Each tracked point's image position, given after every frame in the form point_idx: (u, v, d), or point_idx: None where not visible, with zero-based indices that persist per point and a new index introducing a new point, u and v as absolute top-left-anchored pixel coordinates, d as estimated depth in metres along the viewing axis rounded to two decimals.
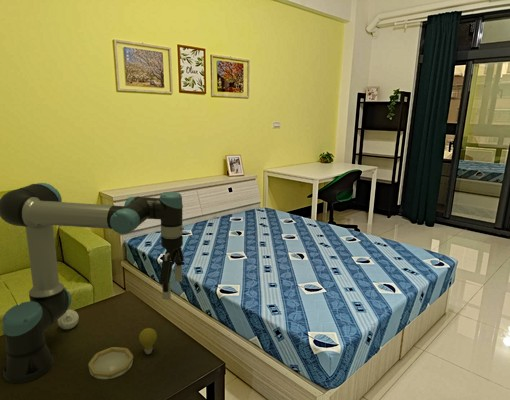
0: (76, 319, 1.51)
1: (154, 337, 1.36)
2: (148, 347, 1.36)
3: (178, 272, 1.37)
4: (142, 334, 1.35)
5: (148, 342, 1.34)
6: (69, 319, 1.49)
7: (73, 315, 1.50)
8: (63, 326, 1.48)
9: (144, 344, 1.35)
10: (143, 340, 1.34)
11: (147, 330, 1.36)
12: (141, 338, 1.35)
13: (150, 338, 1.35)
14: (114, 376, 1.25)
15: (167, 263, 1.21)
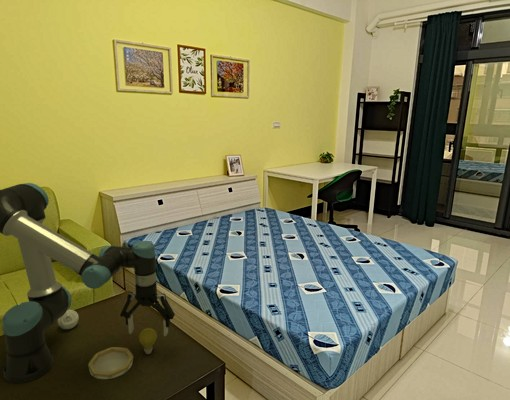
0: (76, 319, 1.51)
1: (154, 337, 1.36)
2: (148, 347, 1.36)
3: None
4: (142, 334, 1.35)
5: (148, 342, 1.34)
6: (69, 319, 1.49)
7: (73, 315, 1.50)
8: (63, 326, 1.48)
9: (144, 344, 1.35)
10: (143, 340, 1.34)
11: (147, 330, 1.36)
12: (141, 338, 1.35)
13: (150, 338, 1.35)
14: (114, 376, 1.25)
15: (127, 300, 1.33)
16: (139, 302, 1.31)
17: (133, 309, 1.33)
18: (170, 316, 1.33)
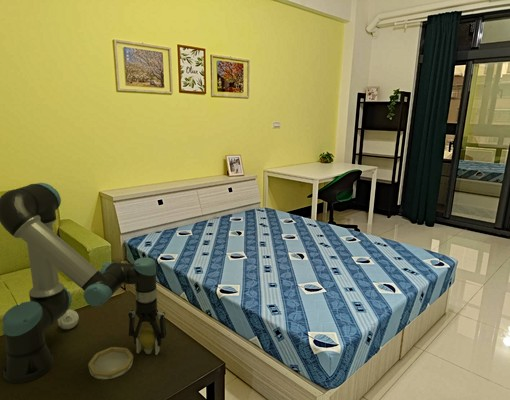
0: (76, 319, 1.50)
1: (154, 337, 1.36)
2: (148, 347, 1.36)
3: None
4: (142, 334, 1.35)
5: (148, 342, 1.34)
6: (69, 319, 1.49)
7: (73, 315, 1.50)
8: (63, 326, 1.48)
9: (144, 344, 1.35)
10: (143, 340, 1.34)
11: (147, 330, 1.36)
12: (141, 338, 1.35)
13: (150, 338, 1.35)
14: (114, 376, 1.25)
15: None
16: (140, 318, 1.33)
17: (138, 327, 1.35)
18: (162, 335, 1.35)
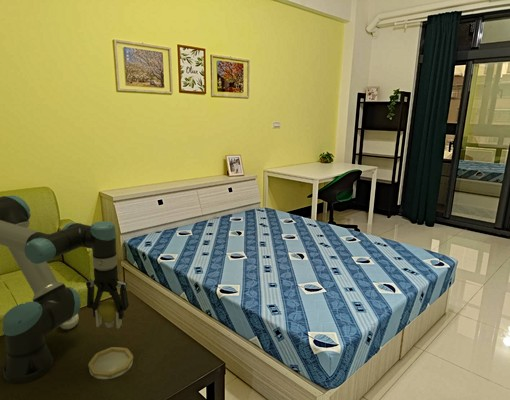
0: (76, 319, 1.50)
1: (115, 309, 1.25)
2: (108, 320, 1.25)
3: None
4: (102, 305, 1.24)
5: (108, 314, 1.23)
6: None
7: None
8: (63, 326, 1.48)
9: (104, 316, 1.24)
10: (102, 312, 1.23)
11: (108, 301, 1.25)
12: (100, 310, 1.24)
13: (110, 309, 1.24)
14: (114, 376, 1.25)
15: None
16: (99, 288, 1.22)
17: (97, 298, 1.24)
18: (123, 307, 1.24)
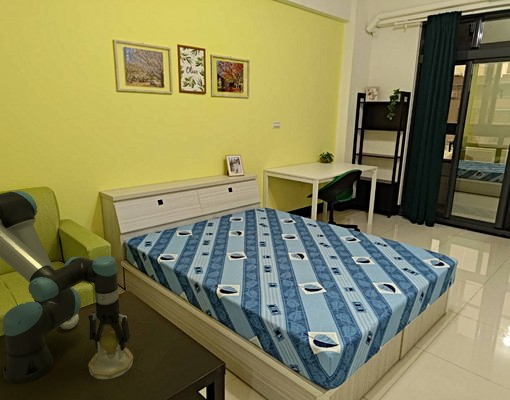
0: (76, 319, 1.50)
1: (117, 341, 1.28)
2: (110, 351, 1.28)
3: None
4: (104, 338, 1.27)
5: (110, 346, 1.26)
6: None
7: None
8: (63, 326, 1.48)
9: (106, 348, 1.27)
10: (104, 344, 1.26)
11: (109, 333, 1.28)
12: (102, 342, 1.26)
13: (112, 341, 1.27)
14: (114, 376, 1.25)
15: None
16: (101, 321, 1.25)
17: (99, 330, 1.27)
18: (125, 339, 1.27)
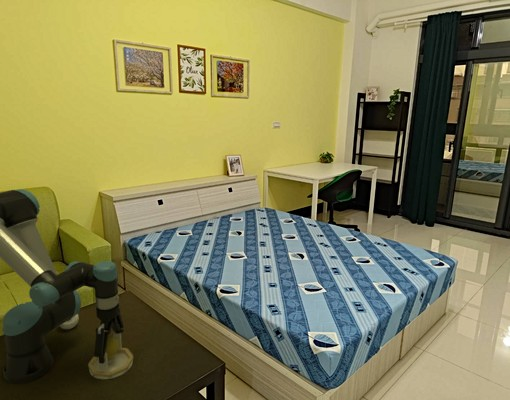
0: (76, 319, 1.50)
1: None
2: None
3: (117, 340, 1.35)
4: (111, 344, 1.28)
5: (118, 345, 1.31)
6: None
7: None
8: (63, 326, 1.48)
9: (116, 350, 1.29)
10: (116, 346, 1.29)
11: (109, 339, 1.29)
12: (114, 347, 1.28)
13: None
14: (114, 376, 1.25)
15: (101, 336, 1.20)
16: (111, 326, 1.25)
17: (107, 339, 1.24)
18: (122, 325, 1.36)
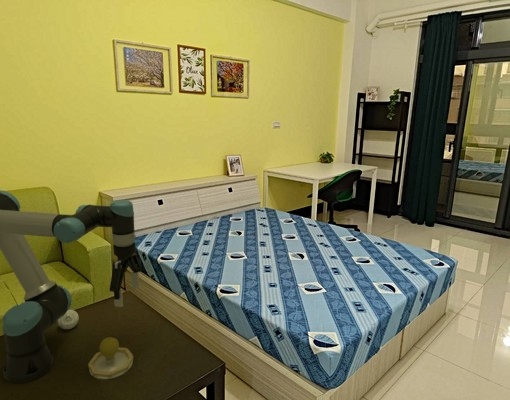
0: (76, 319, 1.51)
1: None
2: None
3: (135, 279, 1.38)
4: (112, 344, 1.28)
5: (118, 345, 1.31)
6: (69, 319, 1.49)
7: (73, 315, 1.50)
8: (63, 326, 1.48)
9: (116, 350, 1.29)
10: (116, 346, 1.29)
11: (110, 339, 1.29)
12: (114, 347, 1.28)
13: None
14: (114, 376, 1.25)
15: (117, 271, 1.22)
16: (127, 264, 1.27)
17: (122, 276, 1.25)
18: (140, 265, 1.39)
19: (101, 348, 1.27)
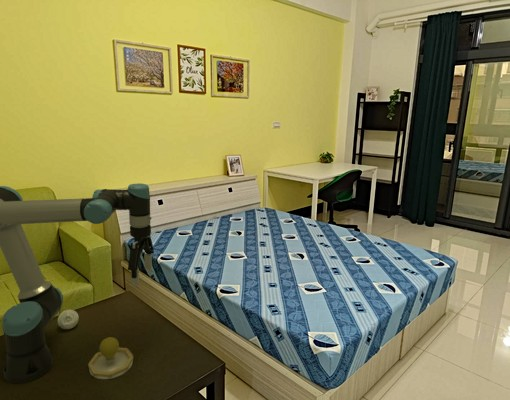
0: (76, 319, 1.51)
1: None
2: None
3: (148, 260, 1.44)
4: (112, 344, 1.28)
5: (118, 345, 1.31)
6: (69, 319, 1.49)
7: (73, 315, 1.50)
8: (63, 326, 1.48)
9: (116, 350, 1.29)
10: (116, 346, 1.29)
11: (110, 339, 1.29)
12: (114, 347, 1.28)
13: None
14: (114, 376, 1.25)
15: (135, 250, 1.28)
16: (143, 245, 1.33)
17: (139, 256, 1.31)
18: (152, 247, 1.45)
19: (101, 348, 1.27)
